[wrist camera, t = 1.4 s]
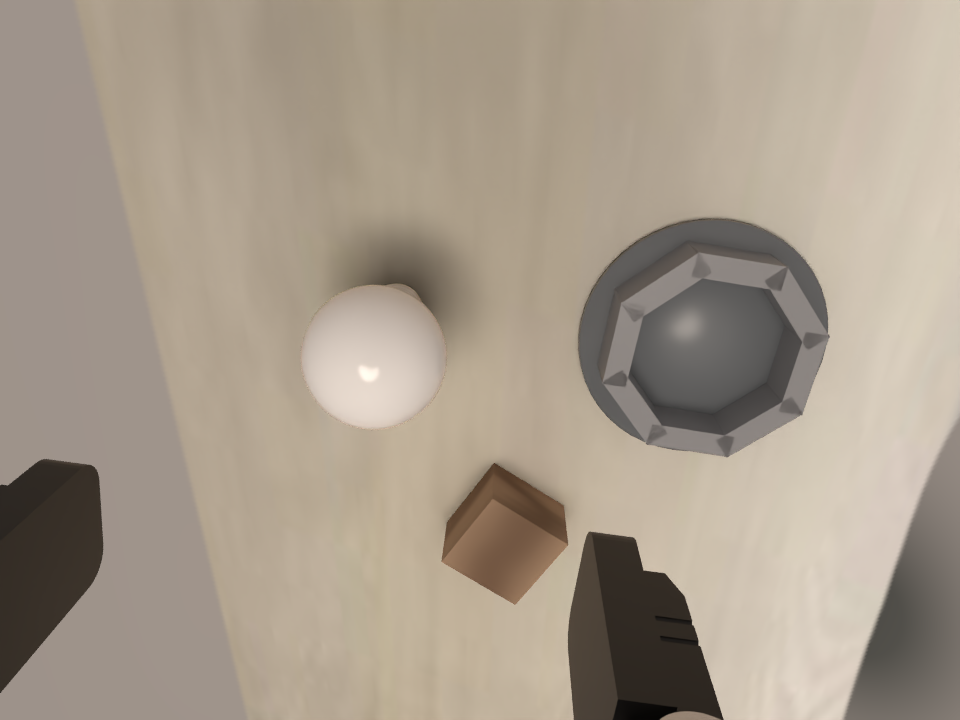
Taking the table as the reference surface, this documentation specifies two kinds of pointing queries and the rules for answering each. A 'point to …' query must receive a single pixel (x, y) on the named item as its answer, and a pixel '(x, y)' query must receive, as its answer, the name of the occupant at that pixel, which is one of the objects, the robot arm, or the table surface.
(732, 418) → the socket collar
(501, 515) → the walnut block
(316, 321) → the lightbulb
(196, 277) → the table surface
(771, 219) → the table surface
